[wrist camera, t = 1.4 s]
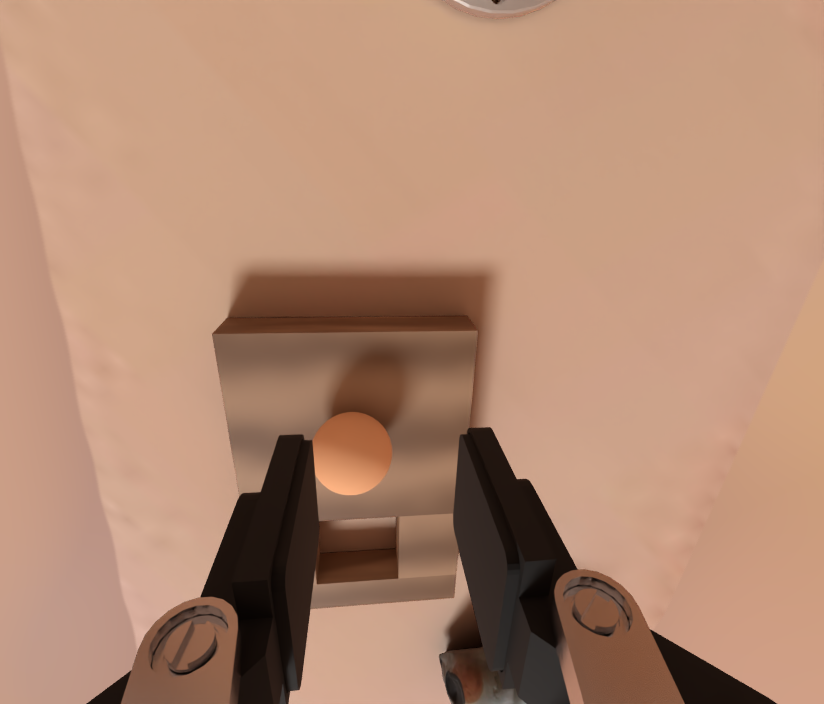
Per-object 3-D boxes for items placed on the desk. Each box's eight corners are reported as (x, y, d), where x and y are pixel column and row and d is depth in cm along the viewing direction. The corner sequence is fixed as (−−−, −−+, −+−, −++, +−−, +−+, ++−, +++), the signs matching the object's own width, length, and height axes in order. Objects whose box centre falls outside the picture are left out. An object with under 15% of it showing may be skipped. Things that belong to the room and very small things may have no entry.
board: (227, 317, 28) (211, 333, 25) (467, 315, 30) (478, 330, 27) (266, 580, 37) (258, 613, 34) (447, 567, 39) (454, 597, 36)
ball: (312, 398, 27) (302, 444, 23) (390, 396, 28) (395, 440, 23) (317, 462, 29) (308, 516, 25) (389, 459, 30) (394, 511, 25)
